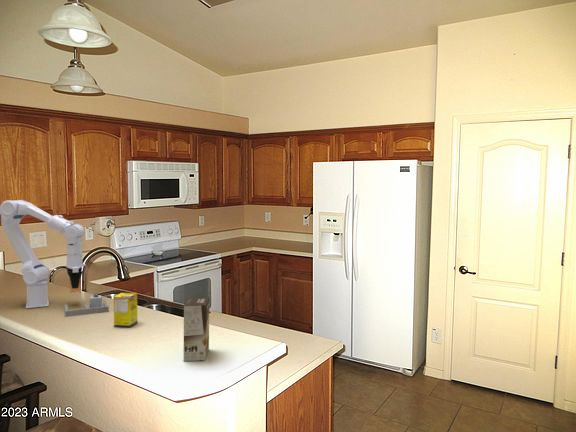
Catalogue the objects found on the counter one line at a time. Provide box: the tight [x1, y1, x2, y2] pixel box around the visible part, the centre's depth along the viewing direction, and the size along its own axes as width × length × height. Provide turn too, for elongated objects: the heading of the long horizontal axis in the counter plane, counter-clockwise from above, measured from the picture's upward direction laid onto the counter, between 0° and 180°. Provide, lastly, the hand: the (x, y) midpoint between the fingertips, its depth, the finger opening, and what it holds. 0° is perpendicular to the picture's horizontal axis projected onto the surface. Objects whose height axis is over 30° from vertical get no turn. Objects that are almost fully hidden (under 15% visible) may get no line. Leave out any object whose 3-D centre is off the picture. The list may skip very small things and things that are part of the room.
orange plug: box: [69, 278, 82, 294], centre depth 172 cm, size 4×4×6 cm
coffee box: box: [183, 296, 210, 362], centre depth 123 cm, size 9×6×16 cm
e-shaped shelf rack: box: [64, 299, 110, 317], centre depth 166 cm, size 11×15×2 cm
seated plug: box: [89, 293, 103, 308], centre depth 168 cm, size 4×4×6 cm
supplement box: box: [113, 292, 138, 329], centre depth 149 cm, size 6×6×11 cm
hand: (74, 287), depth 172 cm, fingers closed on orange plug, 4 cm apart
